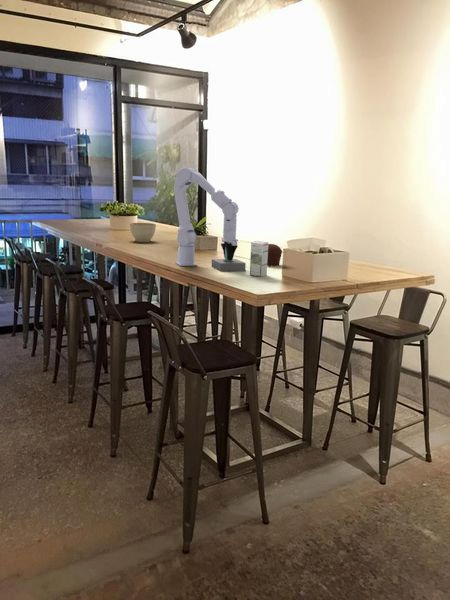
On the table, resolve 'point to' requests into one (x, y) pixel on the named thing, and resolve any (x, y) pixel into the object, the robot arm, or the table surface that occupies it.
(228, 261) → the pin
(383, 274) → the table surface
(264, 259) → the syrup box
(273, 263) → the muffin
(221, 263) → the socket block
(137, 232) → the planter bowl
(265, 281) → the table surface
